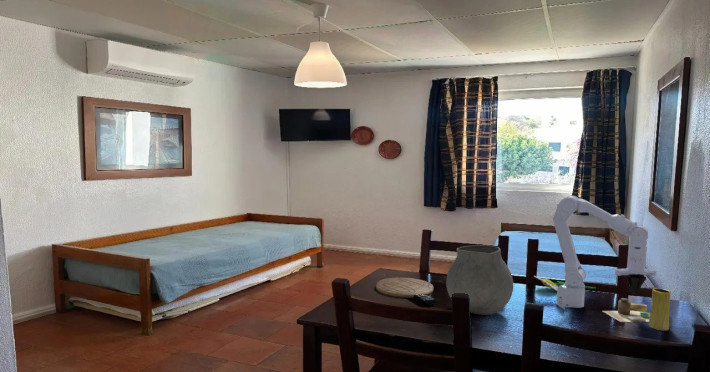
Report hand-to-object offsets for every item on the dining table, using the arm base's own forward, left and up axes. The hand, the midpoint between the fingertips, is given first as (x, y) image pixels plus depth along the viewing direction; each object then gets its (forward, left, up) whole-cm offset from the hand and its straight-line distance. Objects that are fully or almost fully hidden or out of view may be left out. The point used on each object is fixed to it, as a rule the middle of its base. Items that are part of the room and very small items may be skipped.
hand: (634, 294), depth 173 cm
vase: (+2, -12, -9) cm, 15 cm away
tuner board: (-1, -1, -9) cm, 9 cm away
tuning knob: (+1, +1, -8) cm, 8 cm away
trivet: (-79, +37, -10) cm, 88 cm away
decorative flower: (-7, +35, -10) cm, 37 cm away
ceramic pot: (-56, +8, -9) cm, 57 cm away
